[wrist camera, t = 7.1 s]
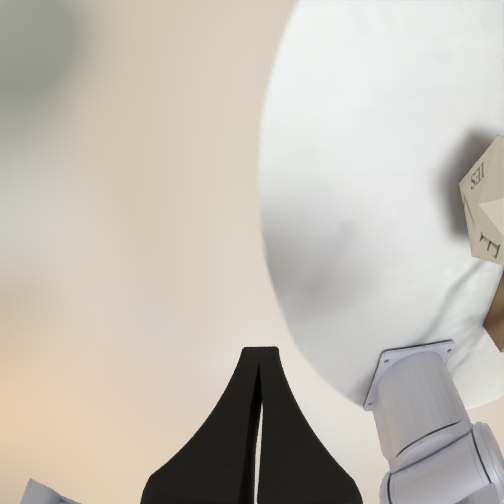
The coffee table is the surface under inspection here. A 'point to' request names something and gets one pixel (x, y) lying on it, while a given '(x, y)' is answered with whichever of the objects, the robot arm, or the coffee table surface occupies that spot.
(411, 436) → the robot arm
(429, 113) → the coffee table surface
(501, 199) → the die
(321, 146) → the coffee table surface
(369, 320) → the coffee table surface
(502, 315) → the walnut board
